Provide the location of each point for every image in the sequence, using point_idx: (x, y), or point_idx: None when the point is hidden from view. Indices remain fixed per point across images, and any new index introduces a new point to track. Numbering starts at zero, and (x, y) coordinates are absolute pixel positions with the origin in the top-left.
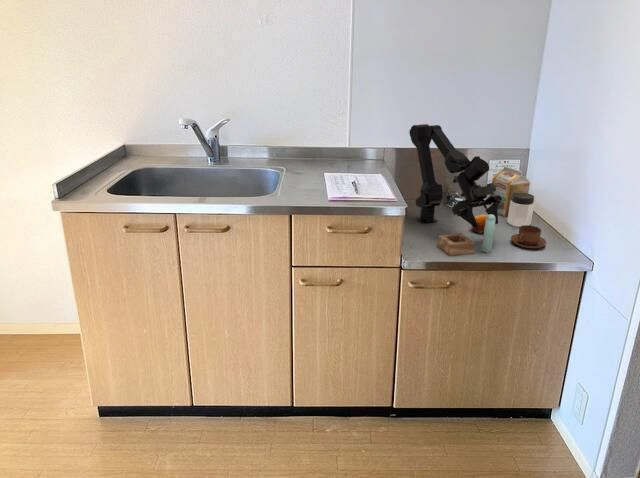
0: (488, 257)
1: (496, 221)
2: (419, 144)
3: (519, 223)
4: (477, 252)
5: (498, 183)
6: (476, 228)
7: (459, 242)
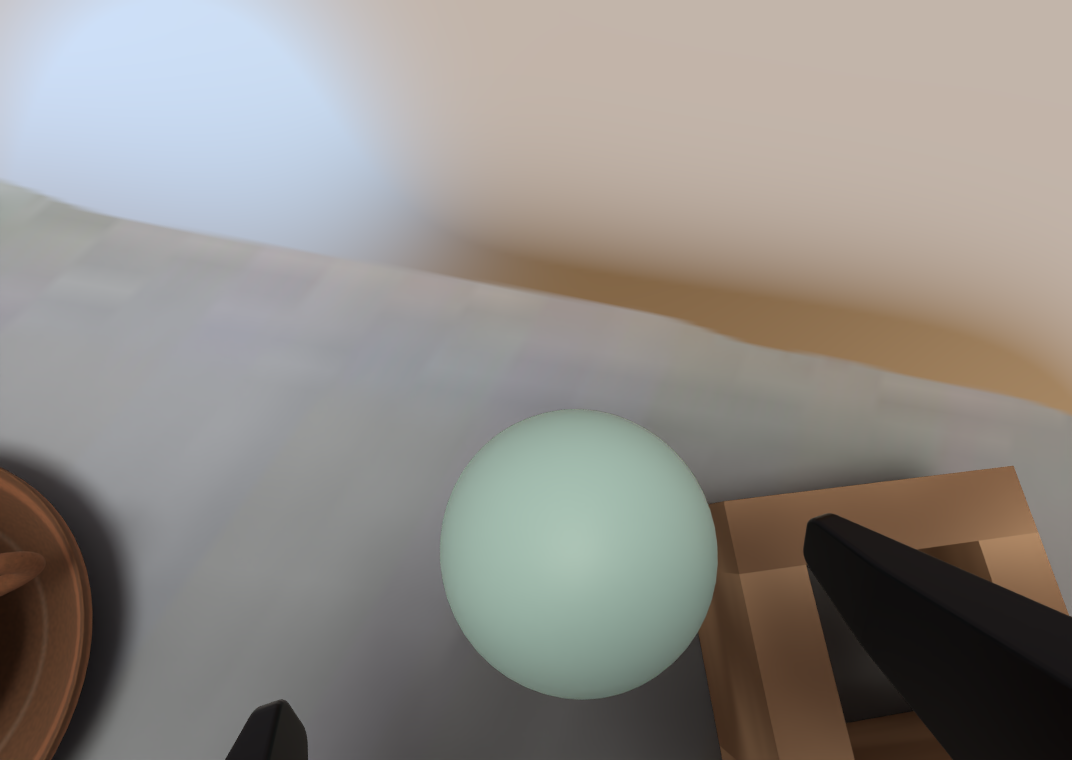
0: (570, 388)
1: (280, 746)
2: None
3: None
4: None
5: None
6: None
7: (908, 529)
